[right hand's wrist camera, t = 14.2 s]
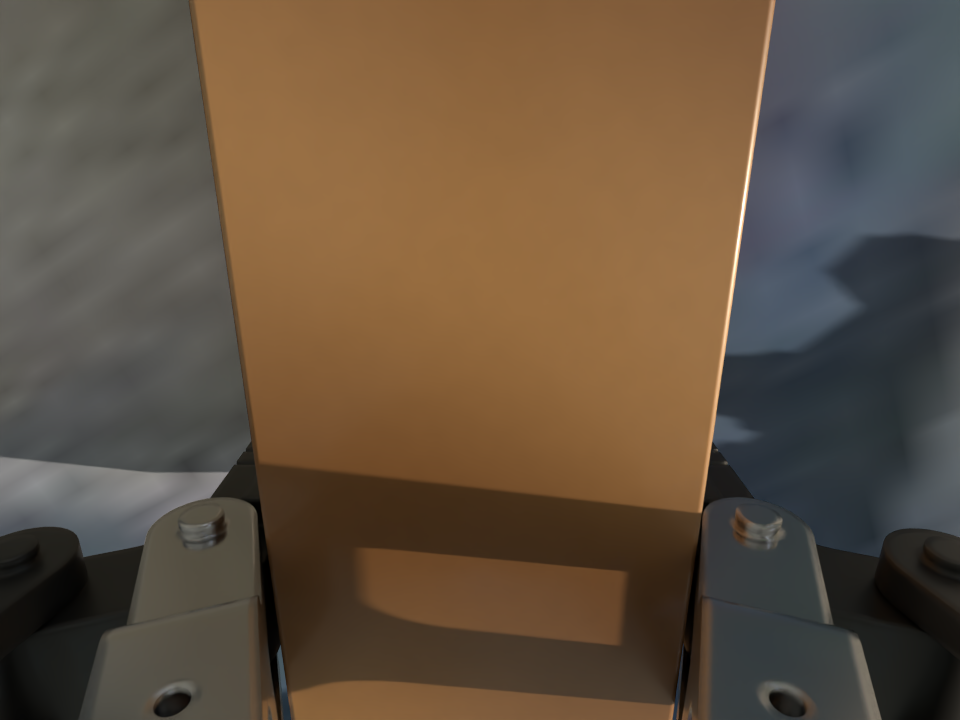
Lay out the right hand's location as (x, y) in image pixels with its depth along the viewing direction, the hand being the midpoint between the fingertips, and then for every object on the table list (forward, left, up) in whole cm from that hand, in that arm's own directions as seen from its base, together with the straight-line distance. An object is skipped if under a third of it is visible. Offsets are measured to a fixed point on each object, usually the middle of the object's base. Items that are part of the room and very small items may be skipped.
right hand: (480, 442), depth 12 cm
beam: (+16, -27, -3) cm, 31 cm away
